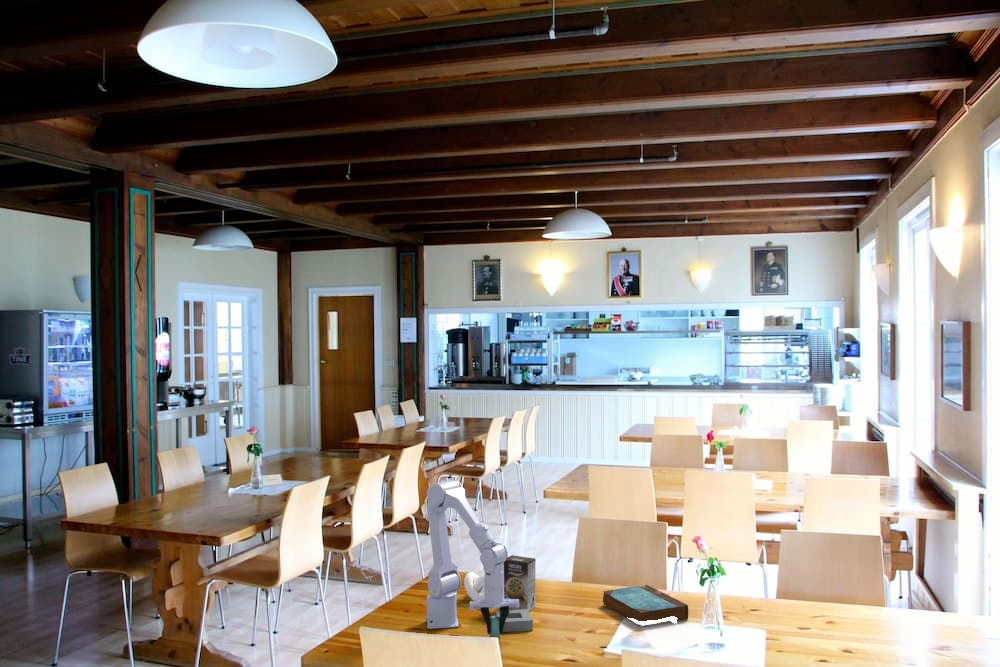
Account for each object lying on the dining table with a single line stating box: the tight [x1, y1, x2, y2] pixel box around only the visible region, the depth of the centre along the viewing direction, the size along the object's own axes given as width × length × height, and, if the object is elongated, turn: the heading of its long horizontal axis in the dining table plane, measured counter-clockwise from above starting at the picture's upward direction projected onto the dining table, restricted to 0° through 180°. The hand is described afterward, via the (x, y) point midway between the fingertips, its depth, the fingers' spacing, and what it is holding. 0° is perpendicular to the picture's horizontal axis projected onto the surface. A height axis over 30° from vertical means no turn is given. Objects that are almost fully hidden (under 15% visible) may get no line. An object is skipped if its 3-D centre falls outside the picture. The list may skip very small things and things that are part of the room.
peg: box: [489, 615, 501, 640], centre depth 230 cm, size 3×3×6 cm
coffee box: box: [503, 554, 537, 612], centre depth 256 cm, size 9×6×16 cm
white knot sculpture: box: [463, 569, 485, 601], centre depth 266 cm, size 11×12×9 cm
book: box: [602, 584, 689, 621], centre depth 250 cm, size 23×18×5 cm
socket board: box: [495, 609, 534, 633], centre depth 240 cm, size 10×10×3 cm
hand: (494, 632), depth 230 cm, fingers closed on peg, 3 cm apart
